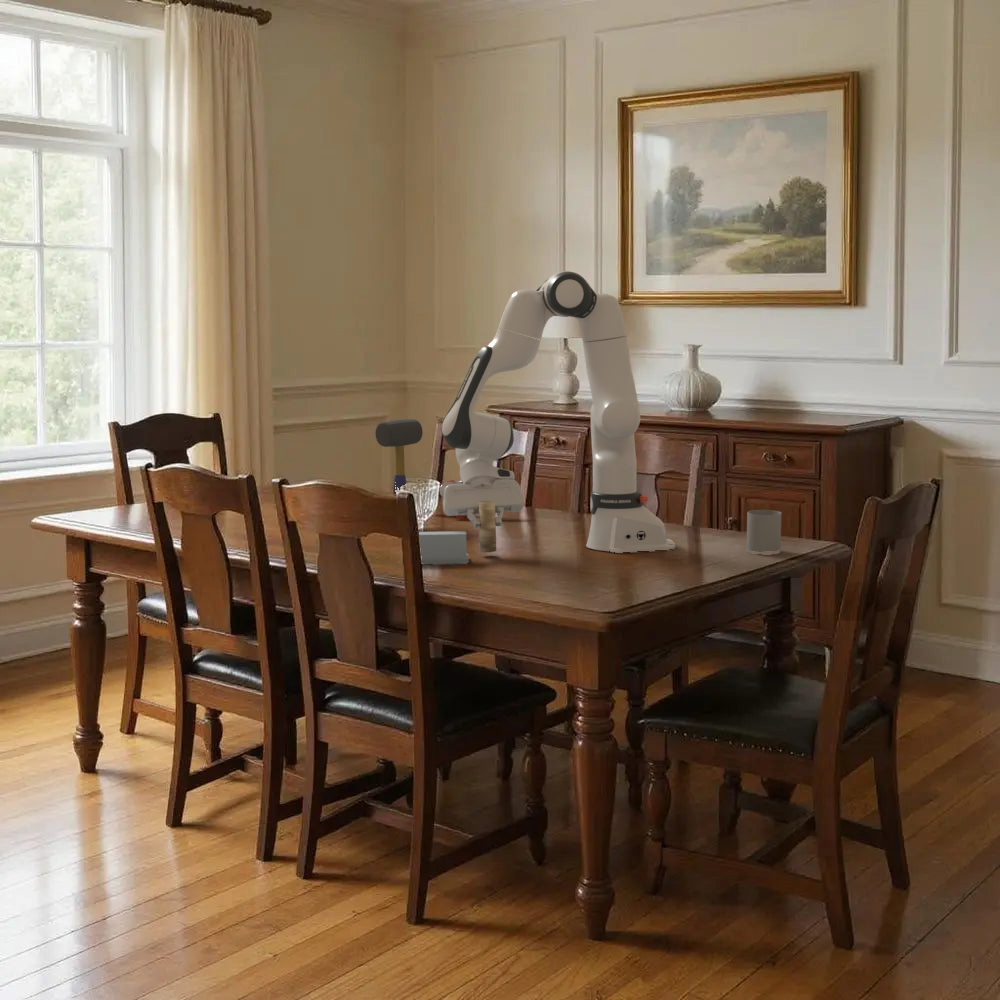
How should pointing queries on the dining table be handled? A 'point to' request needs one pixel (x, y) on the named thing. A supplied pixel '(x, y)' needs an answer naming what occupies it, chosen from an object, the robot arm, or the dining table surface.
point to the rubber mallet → (399, 442)
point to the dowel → (487, 526)
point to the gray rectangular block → (443, 547)
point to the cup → (763, 530)
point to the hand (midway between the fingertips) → (488, 525)
